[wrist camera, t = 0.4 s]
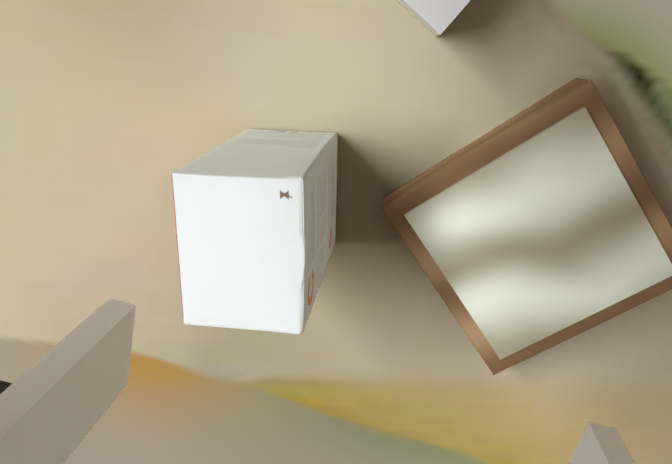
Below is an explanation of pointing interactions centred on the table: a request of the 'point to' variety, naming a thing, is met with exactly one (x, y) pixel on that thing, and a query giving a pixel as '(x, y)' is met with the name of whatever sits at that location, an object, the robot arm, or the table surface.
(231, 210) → the small box
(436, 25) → the grey cube
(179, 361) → the table surface
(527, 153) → the stand
